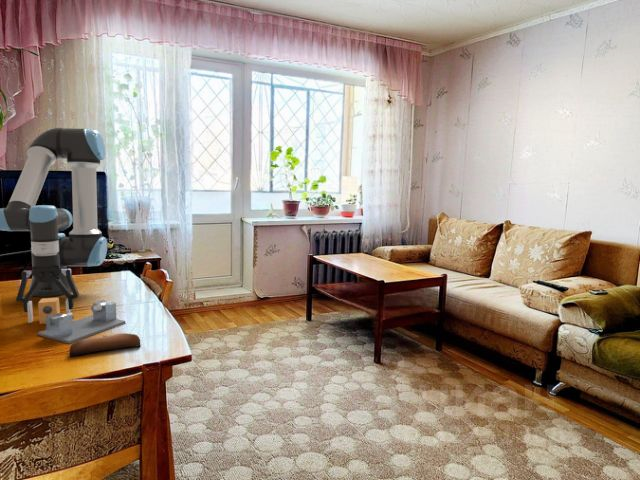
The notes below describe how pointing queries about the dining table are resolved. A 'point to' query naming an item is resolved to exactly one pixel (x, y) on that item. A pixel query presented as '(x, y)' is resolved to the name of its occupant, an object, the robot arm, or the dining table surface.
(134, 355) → the dining table surface
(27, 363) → the dining table surface
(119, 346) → the sunglasses case
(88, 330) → the board
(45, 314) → the coupler
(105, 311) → the shaft stands
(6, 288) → the dining table surface
